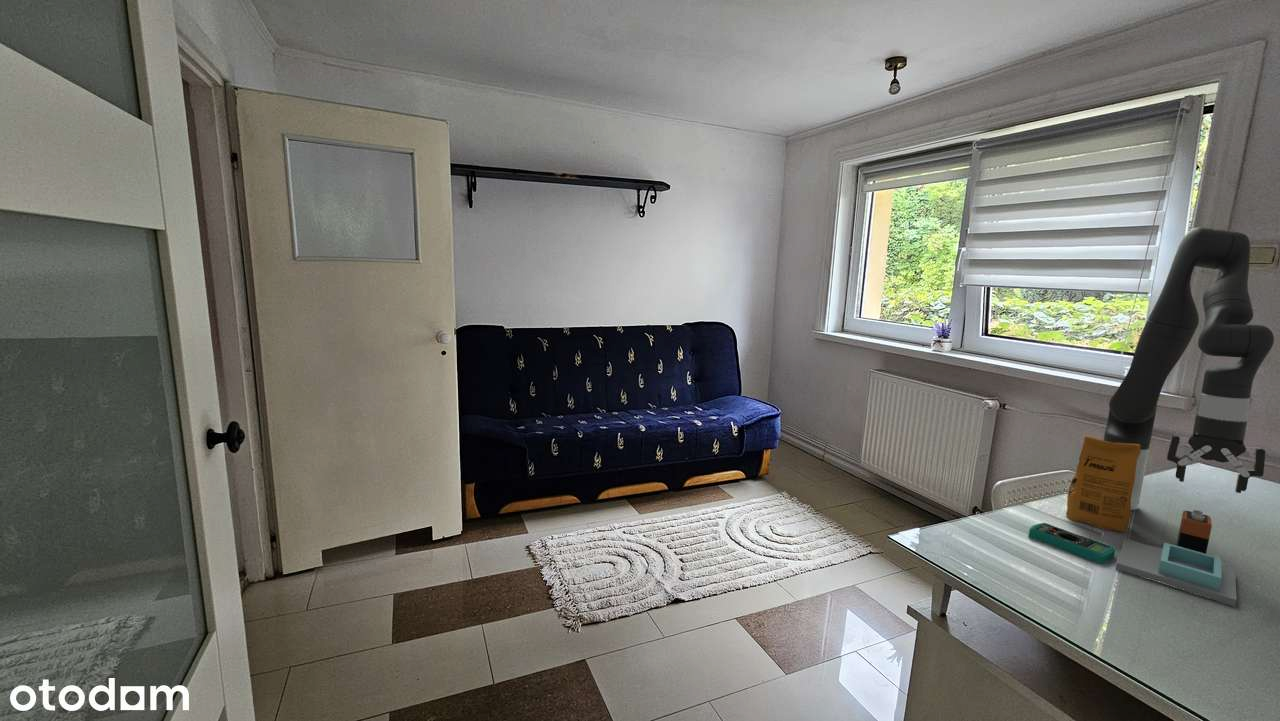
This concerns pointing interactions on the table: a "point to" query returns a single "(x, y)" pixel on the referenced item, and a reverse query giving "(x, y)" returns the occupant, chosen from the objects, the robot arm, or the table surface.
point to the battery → (1194, 531)
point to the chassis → (1180, 569)
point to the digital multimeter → (1072, 543)
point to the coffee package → (1103, 484)
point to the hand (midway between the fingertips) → (1209, 486)
